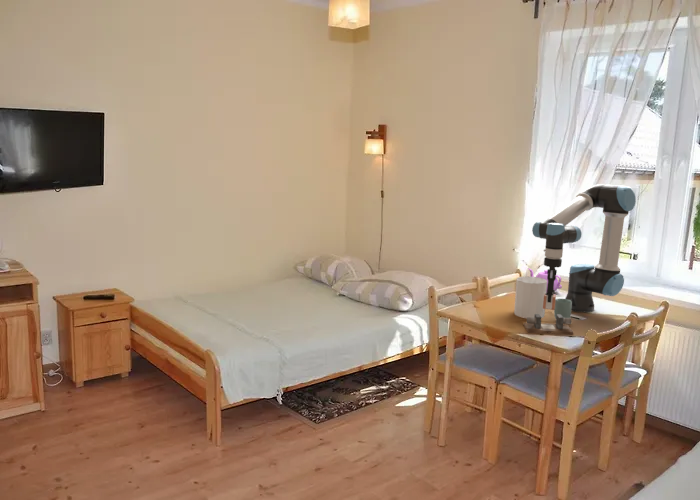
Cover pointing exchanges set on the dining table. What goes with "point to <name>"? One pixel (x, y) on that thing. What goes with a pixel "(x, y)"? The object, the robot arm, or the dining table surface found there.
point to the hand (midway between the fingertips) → (548, 307)
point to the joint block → (552, 302)
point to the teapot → (544, 276)
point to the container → (530, 296)
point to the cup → (563, 307)
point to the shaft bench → (548, 325)
